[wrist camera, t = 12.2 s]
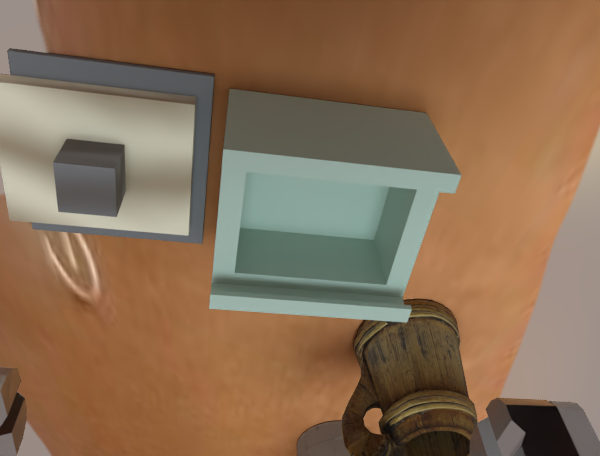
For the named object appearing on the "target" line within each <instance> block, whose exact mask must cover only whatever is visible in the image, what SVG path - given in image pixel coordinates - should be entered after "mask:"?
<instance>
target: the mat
mask: <svg viewBox="0 0 600 456" xmlns="http://www.w3.org/2000/svg"><path fill="white" fill-rule="evenodd" d="M7 52H8V59H9V66H10V73H11V75H16V76H24V77H32V78H41V79H49V80H58V81H66V82H75V83H83V84H91V85H100V86H108V87H117V88H125V89H134V90H142V91H150V92H159V93H167V94H176V95H184V96H193V97H197V101H196V121H195V140H194V159H193V179H192V198H191V217H190V229H189V235H188V236H186V235H174V234H163V233H151V232H139V231H128V230H116V229H105V228H93V227H81V226H70V225H58V224H46V223H35V222H32V228H33V229H37V230H49V231H60V232H72V233H84V234H95V235H107V236H118V237H130V238H142V239H153V240H165V241H176V242H188V243H200V244H202V241H203V227H204V213H205V199H206V185H207V171H208V157H209V143H210V129H211V115H212V101H213V87H214V74H208V73H200V72H192V71H184V70H176V69H168V68H160V67H153V66H145V65H137V64H129V63H121V62H113V61H105V60H97V59H90V58H82V57H74V56H66V55H58V54H50V53H41V52H34V51H27V50H18V49H11V48H10V49H9V50H8V51H7Z"/></svg>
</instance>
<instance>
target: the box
mask: <svg viewBox="0 0 600 456" xmlns="http://www.w3.org/2000/svg"><path fill="white" fill-rule="evenodd" d="M460 178H461V173H460V172H459V170H458V168H457V166H456V164H455V163H454V161H453V159H452V157H451V155H450V154H449V152H448V150H447V148H446V147H445V145H444V143H443V141H442V139H441V138H440V136H439V134H438V132H437V130H436V129H435V127H434V125H433V123H432V121H431V120H430V118H429V116H428V114H427V113H422V112H414V111H406V110H398V109H390V108H382V107H374V106H366V105H358V104H350V103H342V102H334V101H326V100H318V99H310V98H302V97H294V96H285V95H277V94H269V93H261V92H253V91H245V90H237V89H229V99H228V108H227V118H226V128H225V137H224V147H223V158H222V172H221V184H220V195H219V207H218V218H217V229H216V241H215V252H214V263H213V275H212V286H211V295H210V306H209V309H222V310H237V311H251V312H265V313H279V314H293V315H307V316H321V317H335V318H349V319H364V320H378V321H392V322H406V323H407V321H408V319H409V316H410V313H411V311H412V308H411V305H405V304H404V301H403V298H402V297H403V295H404V292H405V289H406V286H407V283H408V280H409V277H410V275H411V272H412V269H413V266H414V263H415V260H416V257H417V255H418V252H419V249H420V246H421V243H422V240H423V237H424V235H425V232H426V229H427V226H428V223H429V220H430V217H431V215H432V212H433V209H434V206H435V203H436V200H437V198H438V195H439V192H444V193H454V194H455V191H456V189H457V186H458V183H459V181H460Z"/></svg>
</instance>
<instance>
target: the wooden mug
mask: <svg viewBox="0 0 600 456" xmlns="http://www.w3.org/2000/svg"><path fill="white" fill-rule="evenodd" d="M404 304H405V305H411V308H412V311H411V313H410V316H409V319H408V321H407V323H406V322H392V321H378V320H365V321H364V323H363V324H362V326H361V327H360V328H359V330H358V333H357V336H356V339H355V342H354V346H353V347H354V352H355V355H356V357H357V360H358V363H359V365H360V368H361V378H360V381H359V383H358V385H357V387H356V389H355V391H354V393H353V395H352V397H351V399H350V401H349V403H348V405H347V407H346V410H345V412H344V414H343V417H342V430H341V432H342V436H343V440H344V444H345V447H346V449H347V450H348V452H349V454H350V455H351V456H470V450H469V448H470V439H471V434H472V432H473V430H474V428H475V426H476V424H477V414H476V410H475V406H474V403H473V402H472V401H471V400H470V399H469V396H468V391H467V386H466V381H465V376H464V371H463V366H462V361H461V355H460V350H459V347H460V337H459V331H458V326H457V321H456V319H455V317H454V315H453V314H452V312H451V311H450V310H448V309H447V308H446V307H444V306H443V305H441V304H438V303H436V302H433V301H429V300H420V299H417V300H407V301H404ZM372 408H380V409H381V411H382V414H383V416H382V418H381V419H380V421H379V427H380V431H381V434H382V435H379V434H374V433H371V432H369V431H368V430H367V429H366V428H365V425H364V421H363V418H364V416H365V413H366V412H367V411H368V410H370V409H372Z"/></svg>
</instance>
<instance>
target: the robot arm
mask: <svg viewBox="0 0 600 456" xmlns="http://www.w3.org/2000/svg"><path fill="white" fill-rule="evenodd" d="M20 383H21V378H20V375H19V371H18V368H6V367H0V456H16V455H17V453H18V450H19V447H20V444H21V441H22V439H23V434H24V429H25V424H26V411H27V407H26V402H25V398H24V397H23V396H22V395H20V394H19V393H18V392H17V391H18V388H19V385H20ZM486 411H487V414H488V418H486V419H484V420H482V421H480V422H479V423H477V424H476V426H475V428H474V430H473V432H472V434H471V439H470V448H469V450H470V456H600V441H599V439H598V437H597V435H596V433H595V431H594V429H593V427H592V425H591V423H590V422H589V420H588V418H587V416H586V414H585V412H584V410H583V409H582V408H581V407H580V406H579V405H578V404H577V403H573V402H555V401H553V402H552V401H547V400H534V399H512V398H511V399H510V398H496V399H494V400H492V401H491V402H490V403H489V405H488V406H487V408H486Z"/></svg>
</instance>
